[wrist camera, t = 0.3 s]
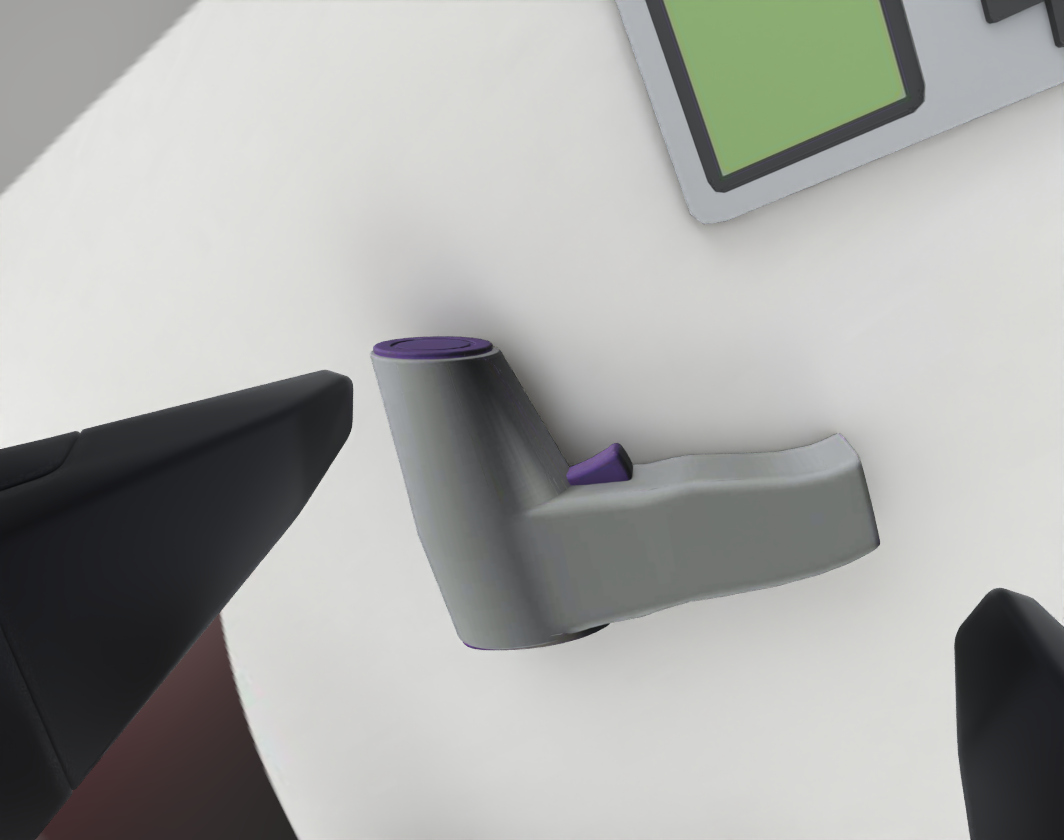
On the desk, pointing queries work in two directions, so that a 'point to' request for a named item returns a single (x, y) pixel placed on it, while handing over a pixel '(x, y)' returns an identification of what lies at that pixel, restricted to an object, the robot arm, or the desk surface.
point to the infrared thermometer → (594, 507)
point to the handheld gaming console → (825, 83)
